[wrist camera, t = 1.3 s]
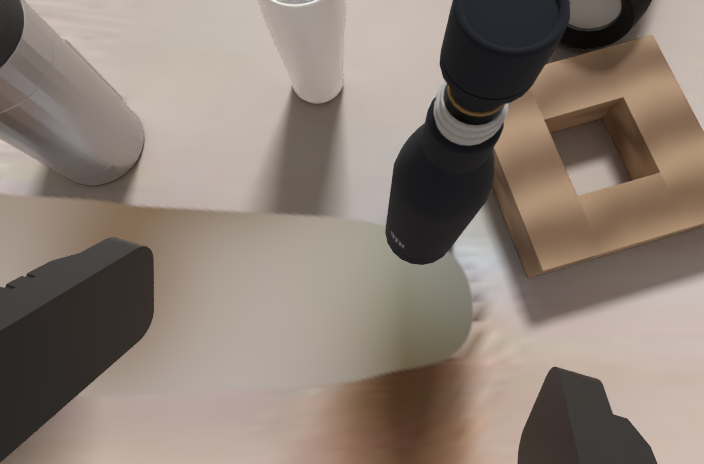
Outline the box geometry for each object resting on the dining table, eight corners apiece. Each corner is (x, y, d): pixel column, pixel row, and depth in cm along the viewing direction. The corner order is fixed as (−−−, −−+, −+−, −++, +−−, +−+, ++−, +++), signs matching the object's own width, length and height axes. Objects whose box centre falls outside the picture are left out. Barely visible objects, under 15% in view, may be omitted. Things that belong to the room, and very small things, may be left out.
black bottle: (460, 208, 45) (626, -55, 16) (445, 273, 44) (596, 112, 15) (395, 191, 46) (439, -91, 17) (377, 254, 44) (393, 65, 15)
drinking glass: (312, 125, 48) (287, 25, 33) (272, 79, 49) (232, -36, 35) (364, 86, 49) (362, -28, 34) (324, 42, 50) (305, -85, 36)
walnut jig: (461, 107, 48) (469, 85, 44) (629, 60, 48) (652, 34, 44) (527, 278, 43) (543, 270, 39) (712, 223, 44) (745, 210, 40)
